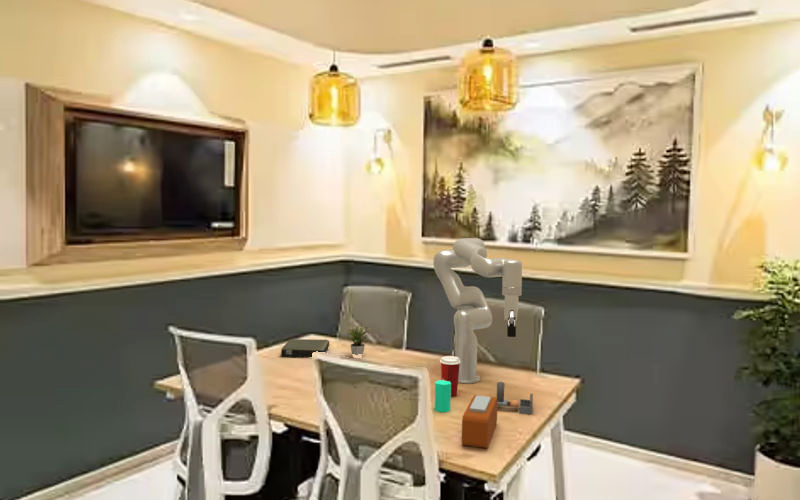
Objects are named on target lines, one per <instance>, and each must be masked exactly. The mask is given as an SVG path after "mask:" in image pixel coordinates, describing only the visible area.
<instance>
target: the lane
mask: <svg viewBox="0 0 800 500" xmlns="http://www.w3.org/2000/svg"><path fill="white" fill-rule="evenodd" d="M511 401H512V400H507V406H497V412H510V413H519V407H511V406H510V403H511Z"/></svg>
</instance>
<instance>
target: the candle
mask: <svg viewBox="0 0 800 500" xmlns="http://www.w3.org/2000/svg"><path fill="white" fill-rule="evenodd" d="M451 399H452V398H451V383H450V381H445V380H442V379H441V380H437V381H435V382H434V410H435V412H439V413H449V412H450V411H451V407H452V406H451V404H452V402H451V401H452V400H451Z"/></svg>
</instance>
